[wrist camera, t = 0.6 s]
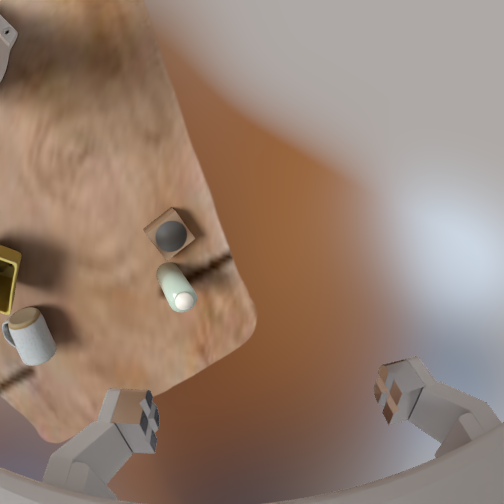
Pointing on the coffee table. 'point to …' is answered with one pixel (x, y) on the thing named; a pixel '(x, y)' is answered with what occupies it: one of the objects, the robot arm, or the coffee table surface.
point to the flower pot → (8, 277)
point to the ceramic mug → (30, 336)
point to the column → (176, 287)
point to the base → (169, 233)
